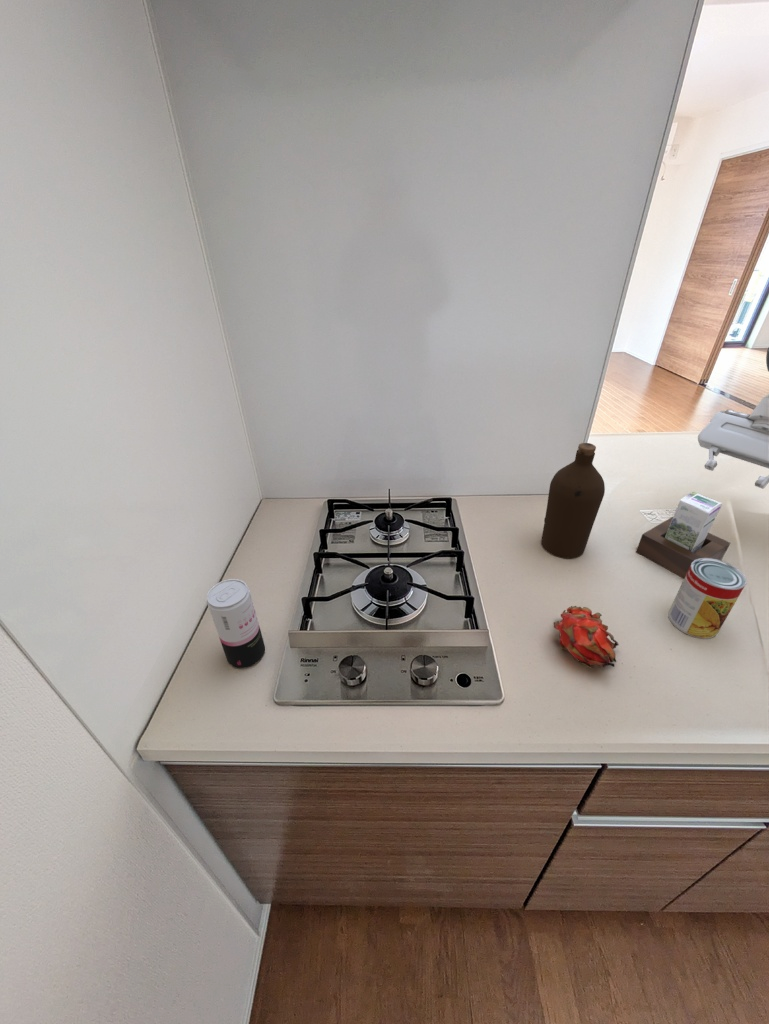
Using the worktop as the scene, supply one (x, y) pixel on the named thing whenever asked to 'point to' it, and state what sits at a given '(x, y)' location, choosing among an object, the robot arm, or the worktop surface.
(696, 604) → the canned food
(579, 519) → the olive oil
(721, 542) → the holder
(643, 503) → the worktop surface
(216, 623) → the beverage can
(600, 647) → the dragon fruit
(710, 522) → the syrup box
